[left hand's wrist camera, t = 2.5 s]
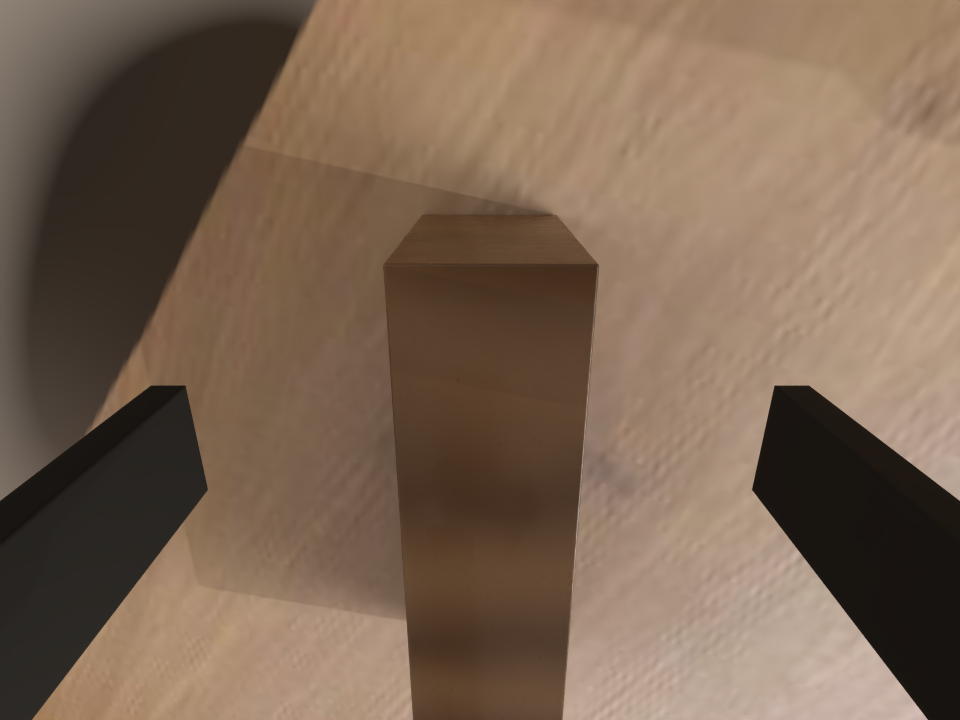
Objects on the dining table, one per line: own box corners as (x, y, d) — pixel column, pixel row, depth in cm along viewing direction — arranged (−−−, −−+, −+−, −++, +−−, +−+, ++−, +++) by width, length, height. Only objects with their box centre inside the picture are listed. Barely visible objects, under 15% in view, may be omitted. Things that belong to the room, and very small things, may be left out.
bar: (421, 214, 22) (382, 263, 14) (557, 214, 22) (599, 264, 14) (437, 627, 31) (419, 814, 22) (536, 628, 31) (555, 816, 22)
